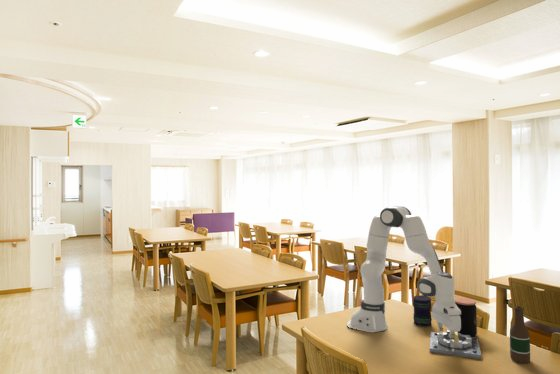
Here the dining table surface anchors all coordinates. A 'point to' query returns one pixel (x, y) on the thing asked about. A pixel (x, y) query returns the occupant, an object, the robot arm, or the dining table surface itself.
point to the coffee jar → (467, 316)
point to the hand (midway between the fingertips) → (445, 334)
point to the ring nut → (454, 343)
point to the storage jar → (422, 311)
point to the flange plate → (464, 352)
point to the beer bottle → (519, 338)
